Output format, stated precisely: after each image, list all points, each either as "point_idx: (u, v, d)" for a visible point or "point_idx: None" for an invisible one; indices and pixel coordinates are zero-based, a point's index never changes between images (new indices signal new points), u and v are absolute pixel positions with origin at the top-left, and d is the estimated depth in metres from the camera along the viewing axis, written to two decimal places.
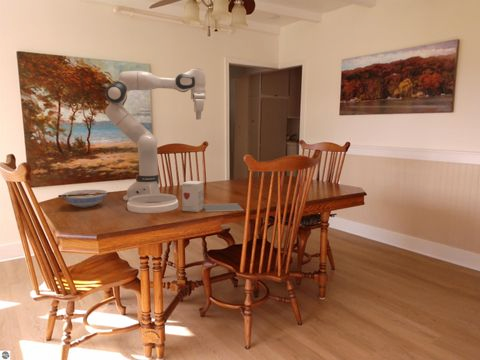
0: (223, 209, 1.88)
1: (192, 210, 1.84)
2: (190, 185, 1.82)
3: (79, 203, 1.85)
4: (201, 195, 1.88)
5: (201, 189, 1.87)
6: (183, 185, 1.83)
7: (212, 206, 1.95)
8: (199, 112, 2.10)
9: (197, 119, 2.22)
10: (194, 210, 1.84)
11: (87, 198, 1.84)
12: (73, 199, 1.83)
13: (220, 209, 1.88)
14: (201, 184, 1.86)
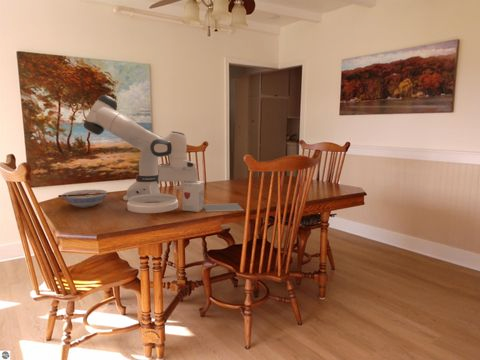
0: (223, 209, 1.88)
1: (192, 210, 1.84)
2: (191, 185, 1.82)
3: (79, 203, 1.85)
4: (202, 195, 1.88)
5: (202, 189, 1.87)
6: (184, 184, 1.83)
7: (212, 206, 1.95)
8: None
9: (177, 189, 1.85)
10: (194, 210, 1.84)
11: (87, 198, 1.84)
12: (73, 199, 1.83)
13: (220, 209, 1.88)
14: (202, 184, 1.86)
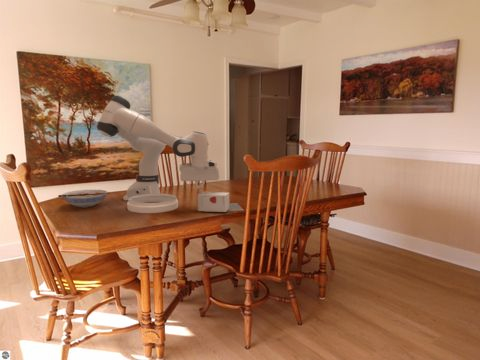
0: None
1: (199, 205, 1.83)
2: (223, 204, 1.80)
3: (79, 203, 1.85)
4: None
5: None
6: (223, 196, 1.80)
7: None
8: (204, 181, 1.87)
9: None
10: (199, 207, 1.83)
11: (87, 198, 1.84)
12: (73, 199, 1.83)
13: None
14: None
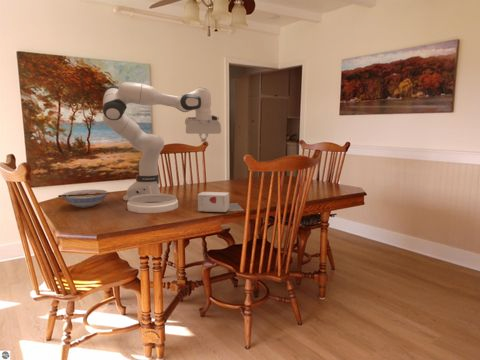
0: None
1: (199, 205, 1.83)
2: (223, 204, 1.80)
3: (79, 203, 1.85)
4: None
5: None
6: (223, 196, 1.80)
7: None
8: (207, 134, 2.04)
9: (202, 141, 2.04)
10: (199, 207, 1.83)
11: (87, 198, 1.84)
12: (73, 199, 1.83)
13: None
14: None
